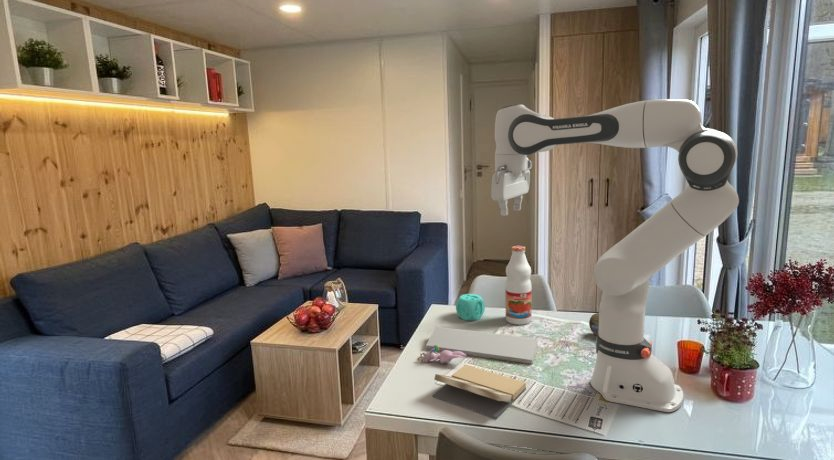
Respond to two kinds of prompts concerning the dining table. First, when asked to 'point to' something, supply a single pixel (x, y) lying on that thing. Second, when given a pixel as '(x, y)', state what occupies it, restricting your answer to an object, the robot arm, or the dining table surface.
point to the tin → (594, 323)
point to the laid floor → (479, 401)
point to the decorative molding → (484, 344)
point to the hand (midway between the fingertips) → (511, 212)
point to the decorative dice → (470, 307)
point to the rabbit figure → (441, 355)
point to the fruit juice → (518, 288)
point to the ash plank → (473, 388)
